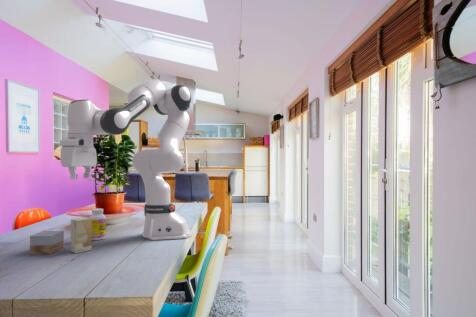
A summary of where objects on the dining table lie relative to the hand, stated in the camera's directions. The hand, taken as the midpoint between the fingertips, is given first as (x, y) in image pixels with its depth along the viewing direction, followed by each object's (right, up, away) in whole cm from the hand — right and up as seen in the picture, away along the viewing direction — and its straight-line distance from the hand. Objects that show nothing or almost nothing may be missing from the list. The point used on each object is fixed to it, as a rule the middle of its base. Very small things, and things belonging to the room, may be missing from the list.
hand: (80, 178), depth 121 cm
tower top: (-13, -24, 0) cm, 27 cm away
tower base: (-13, -28, 0) cm, 31 cm away
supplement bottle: (-1, -28, +18) cm, 33 cm away
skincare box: (0, -28, 0) cm, 28 cm away
